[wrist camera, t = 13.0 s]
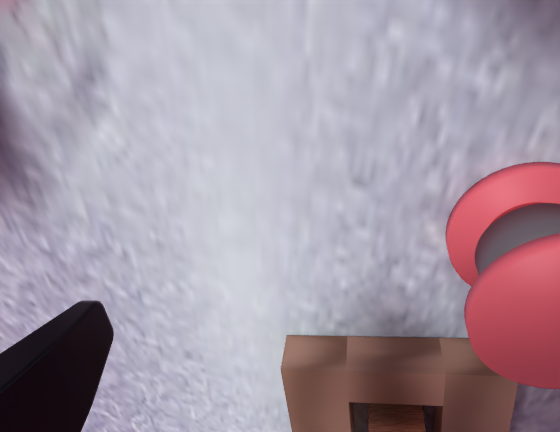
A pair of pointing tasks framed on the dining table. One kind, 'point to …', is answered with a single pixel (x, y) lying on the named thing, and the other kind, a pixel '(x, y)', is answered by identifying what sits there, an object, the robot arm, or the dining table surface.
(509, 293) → the spool
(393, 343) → the board with rectangular hole
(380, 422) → the reddish brown block
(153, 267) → the dining table surface
